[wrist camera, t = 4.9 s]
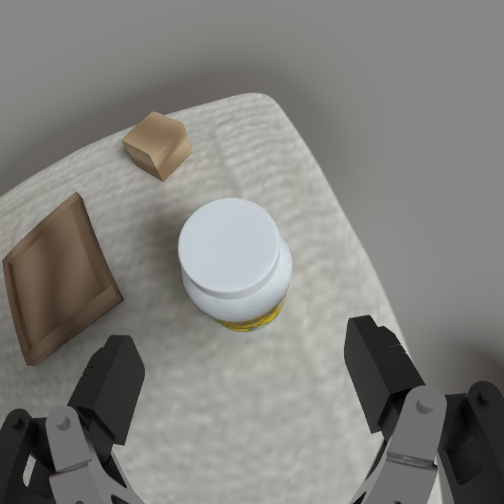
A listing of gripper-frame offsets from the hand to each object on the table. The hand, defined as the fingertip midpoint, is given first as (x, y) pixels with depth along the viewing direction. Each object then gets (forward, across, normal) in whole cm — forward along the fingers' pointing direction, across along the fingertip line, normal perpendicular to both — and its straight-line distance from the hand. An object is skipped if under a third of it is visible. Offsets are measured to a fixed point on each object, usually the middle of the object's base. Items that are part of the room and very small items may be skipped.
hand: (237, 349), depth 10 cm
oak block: (+19, +7, -6) cm, 21 cm away
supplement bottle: (+9, 0, +4) cm, 10 cm away
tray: (+11, +18, +2) cm, 21 cm away
